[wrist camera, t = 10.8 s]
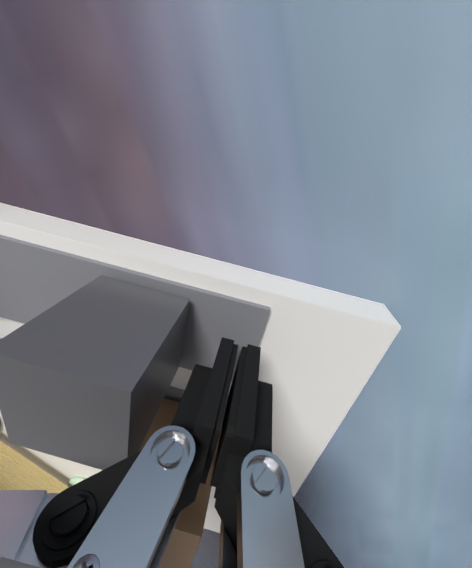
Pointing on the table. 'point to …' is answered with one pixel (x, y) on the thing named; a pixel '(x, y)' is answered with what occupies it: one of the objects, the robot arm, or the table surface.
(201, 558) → the table surface
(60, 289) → the panel
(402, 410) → the table surface
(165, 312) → the gray slider
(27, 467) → the brass lever
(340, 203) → the table surface
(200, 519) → the walnut slider
